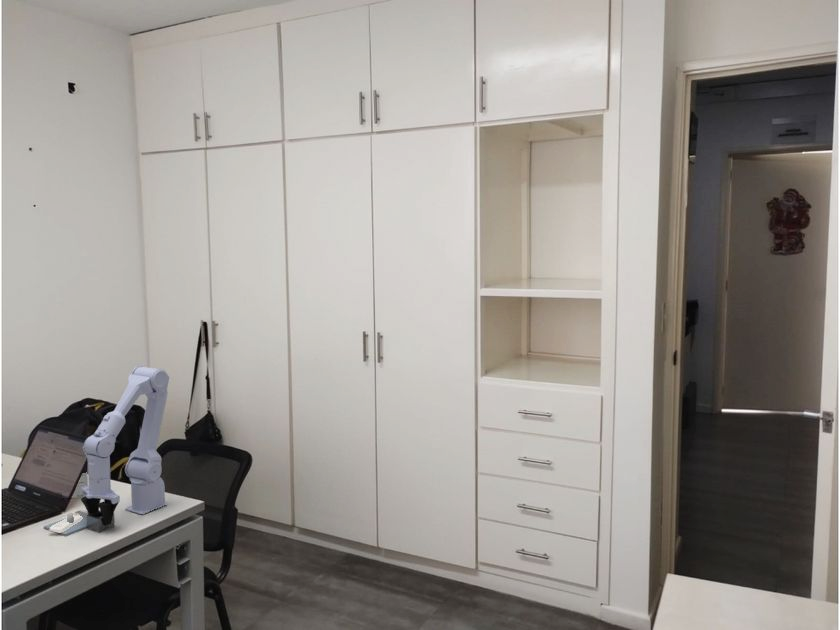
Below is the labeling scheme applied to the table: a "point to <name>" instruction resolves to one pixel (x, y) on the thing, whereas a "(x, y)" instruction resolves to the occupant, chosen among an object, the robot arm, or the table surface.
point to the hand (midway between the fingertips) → (100, 522)
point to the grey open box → (98, 522)
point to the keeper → (70, 519)
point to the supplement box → (81, 483)
